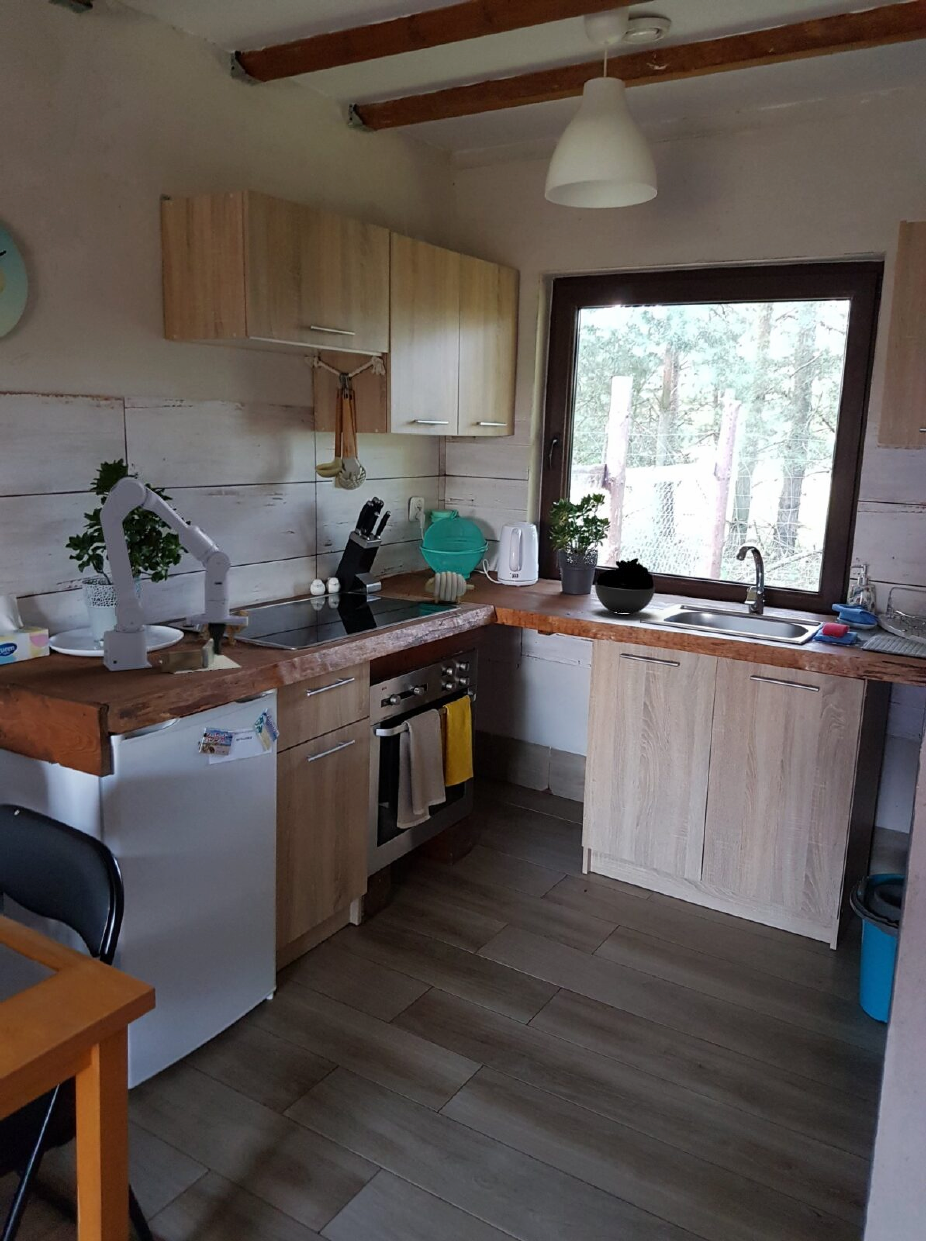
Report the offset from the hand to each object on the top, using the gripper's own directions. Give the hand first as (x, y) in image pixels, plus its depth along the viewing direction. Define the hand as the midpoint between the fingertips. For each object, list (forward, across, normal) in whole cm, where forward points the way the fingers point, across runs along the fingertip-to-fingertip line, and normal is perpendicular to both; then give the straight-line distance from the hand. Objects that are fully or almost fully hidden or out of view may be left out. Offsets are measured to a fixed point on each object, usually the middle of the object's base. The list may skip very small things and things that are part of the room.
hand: (217, 653), depth 231 cm
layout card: (+2, +4, +4) cm, 5 cm away
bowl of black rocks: (+3, -118, -83) cm, 145 cm away
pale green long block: (+1, +2, +2) cm, 3 cm away
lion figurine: (+2, +3, -22) cm, 22 cm away
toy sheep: (+3, -60, -93) cm, 111 cm away
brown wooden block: (+2, +6, +10) cm, 12 cm away
